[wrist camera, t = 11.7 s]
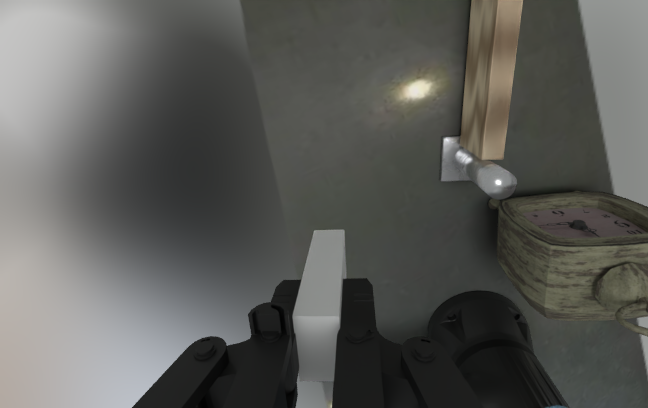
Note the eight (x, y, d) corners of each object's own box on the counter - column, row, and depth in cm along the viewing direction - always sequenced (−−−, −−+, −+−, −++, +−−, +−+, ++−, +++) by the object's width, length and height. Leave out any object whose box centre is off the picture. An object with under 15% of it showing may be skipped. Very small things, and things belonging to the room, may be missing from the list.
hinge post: (483, 177, 48) (528, 212, 36) (439, 179, 48) (468, 213, 36) (488, 134, 46) (536, 155, 34) (441, 136, 46) (473, 157, 34)
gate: (476, 144, 45) (502, 159, 37) (459, 145, 45) (481, 160, 37) (496, -58, 37) (534, -94, 29) (475, -56, 38) (507, -91, 30)
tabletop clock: (589, 180, 47) (823, 284, 24) (581, 240, 50) (781, 385, 27) (478, 191, 49) (593, 297, 25) (477, 248, 52) (579, 390, 28)
